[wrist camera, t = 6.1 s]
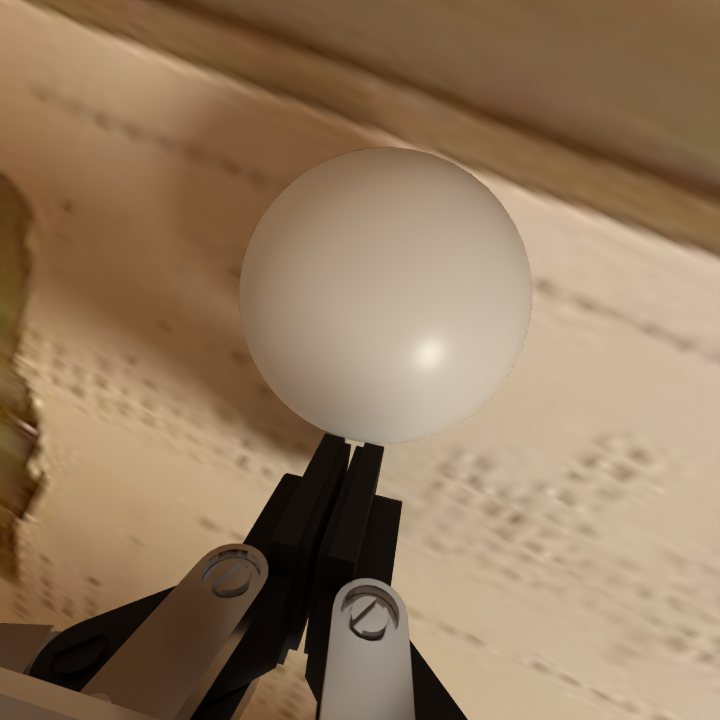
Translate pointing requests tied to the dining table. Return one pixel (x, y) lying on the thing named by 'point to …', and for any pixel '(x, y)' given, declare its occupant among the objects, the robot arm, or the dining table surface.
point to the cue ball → (385, 295)
